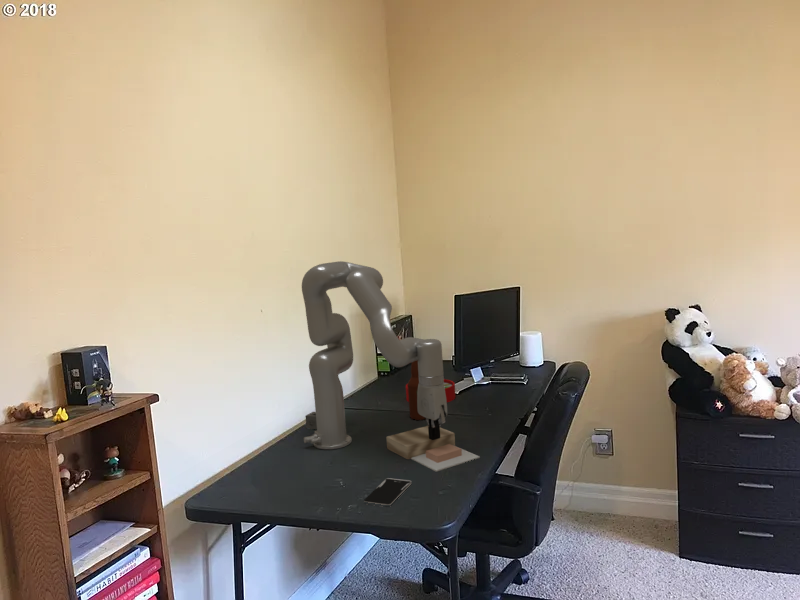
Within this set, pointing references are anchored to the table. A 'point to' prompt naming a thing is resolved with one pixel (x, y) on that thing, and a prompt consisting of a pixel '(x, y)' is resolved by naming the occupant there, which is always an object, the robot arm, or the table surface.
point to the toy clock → (449, 390)
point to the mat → (445, 464)
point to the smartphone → (388, 491)
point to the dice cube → (311, 421)
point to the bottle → (414, 392)
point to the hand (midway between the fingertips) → (434, 438)
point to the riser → (417, 442)
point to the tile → (443, 453)
